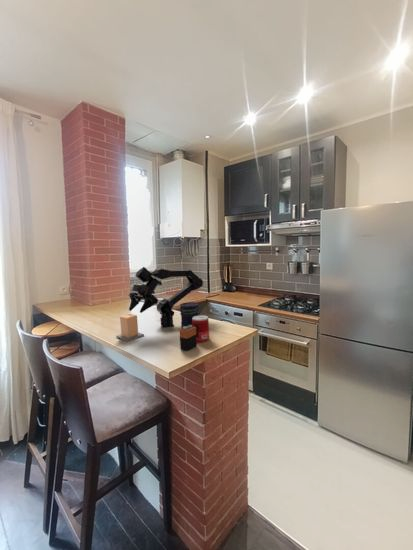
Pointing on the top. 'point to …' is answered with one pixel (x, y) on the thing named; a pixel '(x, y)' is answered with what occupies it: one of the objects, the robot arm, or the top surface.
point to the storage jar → (188, 313)
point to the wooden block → (129, 325)
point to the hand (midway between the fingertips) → (134, 311)
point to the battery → (188, 337)
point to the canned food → (201, 327)
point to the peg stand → (130, 337)
